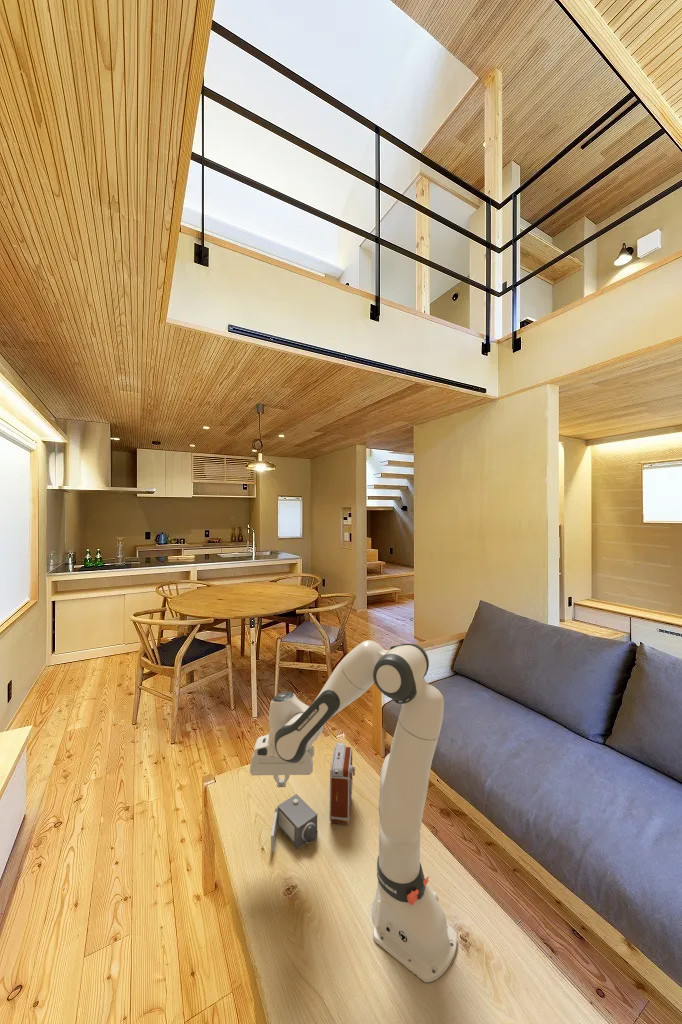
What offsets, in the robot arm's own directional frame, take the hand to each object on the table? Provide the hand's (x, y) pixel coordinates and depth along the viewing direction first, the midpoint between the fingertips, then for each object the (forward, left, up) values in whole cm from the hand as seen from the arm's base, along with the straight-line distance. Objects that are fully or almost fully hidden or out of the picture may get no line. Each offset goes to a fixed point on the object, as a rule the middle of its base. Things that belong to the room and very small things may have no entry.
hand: (281, 785), depth 121 cm
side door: (+3, +1, -19) cm, 19 cm away
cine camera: (-1, -26, -20) cm, 33 cm away
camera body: (0, -7, -20) cm, 21 cm away
